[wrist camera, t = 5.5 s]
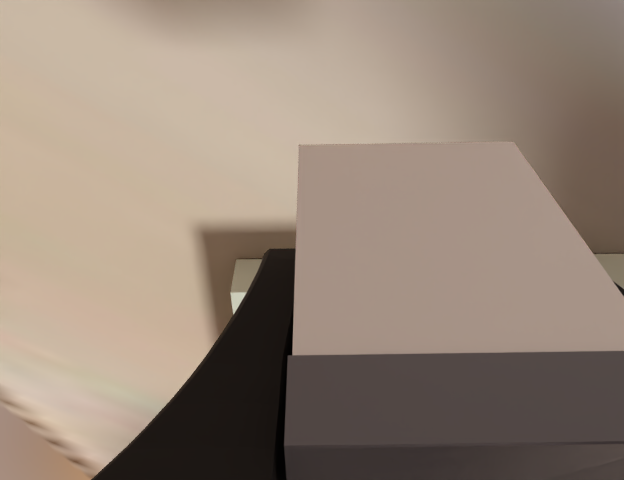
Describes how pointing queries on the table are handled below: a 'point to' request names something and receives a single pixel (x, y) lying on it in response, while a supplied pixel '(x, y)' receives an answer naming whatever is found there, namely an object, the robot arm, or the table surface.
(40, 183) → the table surface
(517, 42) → the table surface
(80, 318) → the table surface
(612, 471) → the plug
